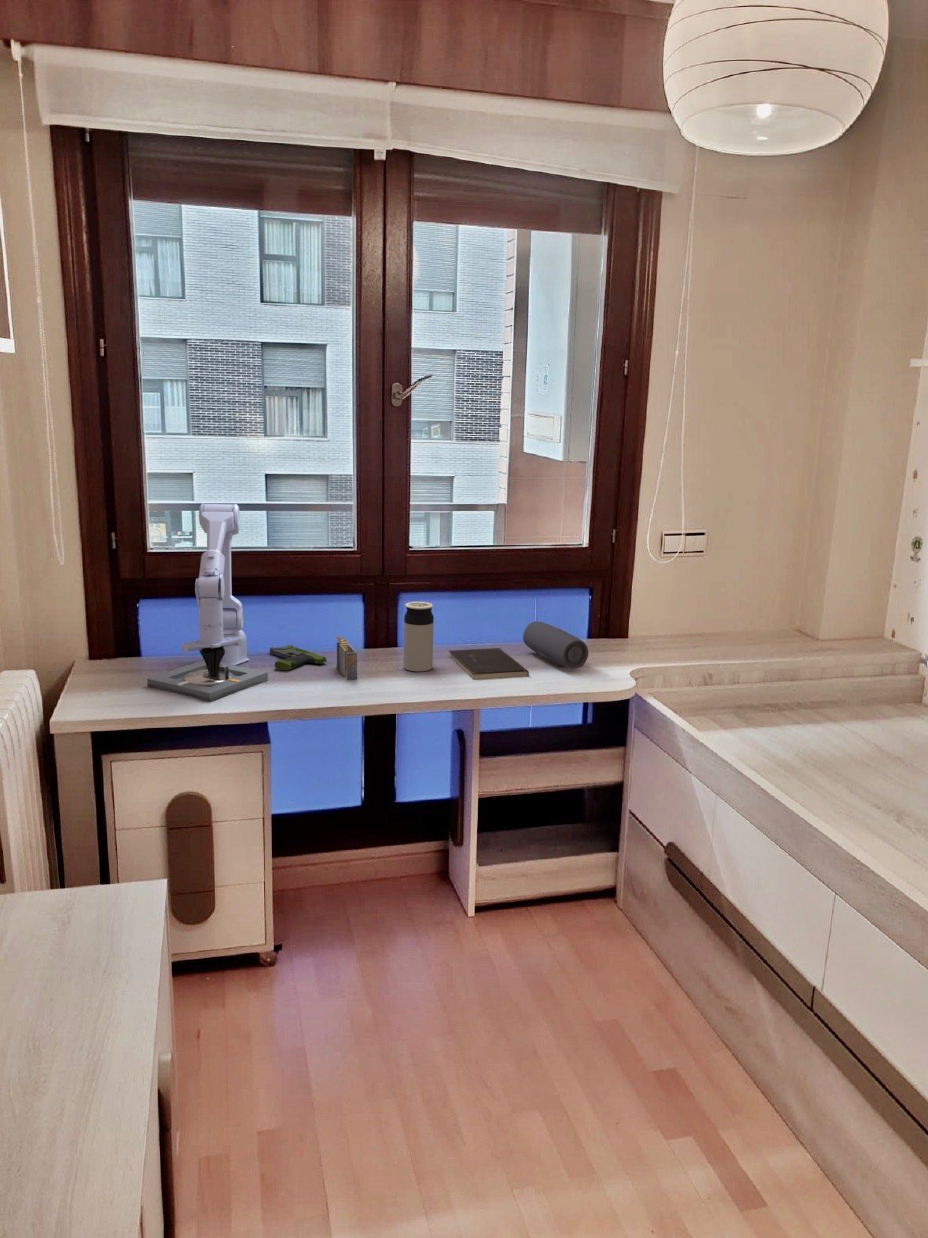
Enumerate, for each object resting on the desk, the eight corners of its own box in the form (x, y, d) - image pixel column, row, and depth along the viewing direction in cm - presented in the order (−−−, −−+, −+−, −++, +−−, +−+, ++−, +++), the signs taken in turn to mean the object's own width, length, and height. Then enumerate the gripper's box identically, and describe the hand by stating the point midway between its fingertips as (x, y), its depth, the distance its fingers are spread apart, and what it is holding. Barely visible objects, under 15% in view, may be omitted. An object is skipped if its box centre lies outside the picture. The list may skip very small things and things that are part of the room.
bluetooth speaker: (589, 671, 263) (591, 636, 261) (560, 675, 259) (562, 639, 257) (547, 650, 283) (549, 618, 280) (520, 653, 279) (522, 620, 276)
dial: (173, 681, 239) (173, 665, 238) (205, 670, 250) (205, 654, 249) (211, 689, 234) (210, 672, 233) (242, 677, 245) (241, 661, 244)
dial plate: (206, 667, 256) (206, 658, 255) (267, 680, 246) (267, 671, 246) (147, 686, 238) (146, 677, 237) (210, 702, 228) (210, 692, 228)
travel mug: (432, 672, 257) (433, 608, 253) (402, 671, 257) (403, 607, 253) (432, 664, 265) (434, 601, 261) (404, 663, 265) (405, 600, 261)
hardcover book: (472, 681, 252) (472, 673, 252) (448, 658, 274) (448, 650, 273) (528, 678, 257) (529, 670, 256) (501, 655, 278) (501, 647, 278)
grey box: (335, 669, 259) (335, 635, 257) (346, 668, 260) (346, 634, 258) (345, 681, 249) (345, 645, 247) (356, 680, 250) (357, 644, 248)
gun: (246, 659, 266) (291, 651, 276) (285, 673, 252) (330, 664, 263) (246, 650, 265) (291, 642, 275) (285, 663, 252) (330, 655, 262)
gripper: (186, 630, 227) (188, 684, 230) (245, 624, 235) (246, 676, 238) (178, 624, 233) (180, 677, 236) (235, 618, 240) (236, 669, 244)
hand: (212, 676), depth 237 cm, fingers closed
